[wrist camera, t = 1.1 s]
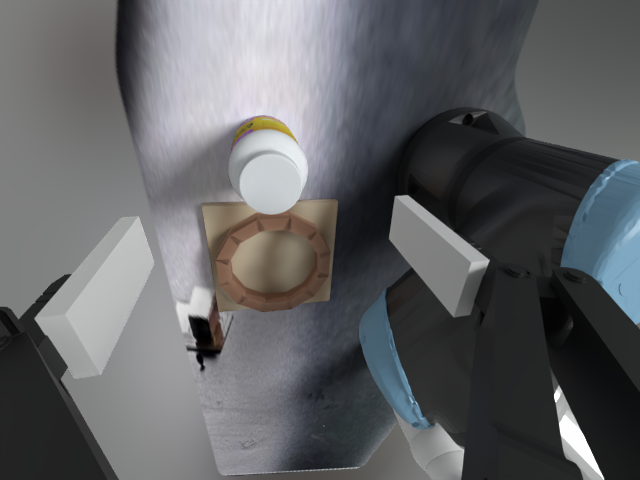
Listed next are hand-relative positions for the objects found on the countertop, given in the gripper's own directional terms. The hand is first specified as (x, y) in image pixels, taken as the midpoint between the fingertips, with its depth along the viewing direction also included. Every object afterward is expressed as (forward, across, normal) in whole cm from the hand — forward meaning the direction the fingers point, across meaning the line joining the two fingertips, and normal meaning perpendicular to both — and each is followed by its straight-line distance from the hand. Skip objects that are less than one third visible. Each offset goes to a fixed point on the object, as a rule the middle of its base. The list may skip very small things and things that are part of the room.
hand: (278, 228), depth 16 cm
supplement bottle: (+20, 0, 0) cm, 20 cm away
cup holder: (+20, 0, +15) cm, 25 cm away
